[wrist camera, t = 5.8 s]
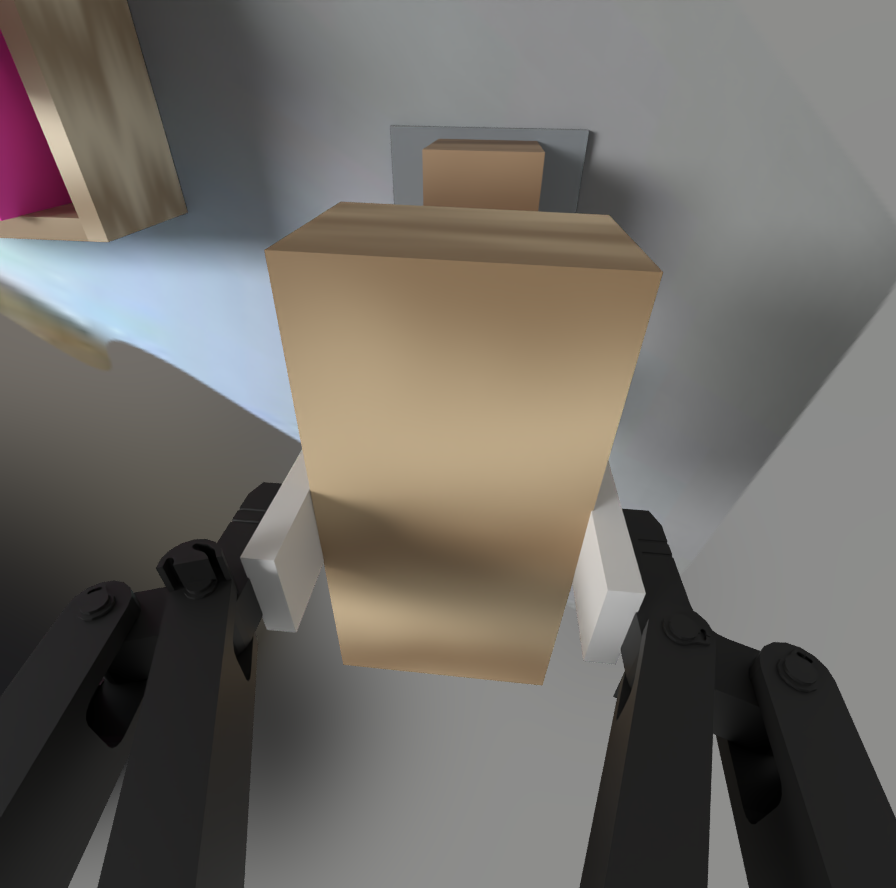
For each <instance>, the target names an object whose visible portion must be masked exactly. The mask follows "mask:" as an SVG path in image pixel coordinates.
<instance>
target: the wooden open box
mask: <svg viewBox="0 0 896 888" xmlns="http://www.w3.org/2000/svg"><path fill="white" fill-rule="evenodd" d="M0 29H1V32H2V34H3V37H4V39H5V41H6V44H7V46H8V49H9V51H10V53H11V56H12V58H13V61H14V63H15V65H16V68H17V70H18V73H19V75H20V77H21V80H22V82H23V85H24V87H25V89H26V92H27V94H28V97H29V99H30V102H31V104H32V106H33V109H34V111H35V114H36V116H37V118H38V121H39V123H40V126H41V128H42V130H43V133H44V135H45V138H46V140H47V142H48V145H49V147H50V150H51V152H52V154H53V157H54V159H55V162H56V164H57V166H58V169H59V171H60V174H61V176H62V178H63V181H64V183H65V186H66V188H67V190H68V193H69V195H70V198H71V200H72V203H69V204H65V205H61V206H57V207H53V208H49V209H45V210H41V211H37V212H33V213H29V214H25V215H21V216H18V217H15V218H11V219H7V220H3V221H0V238H18V239H43V240H68V241H93V242H110V241H113V240H116V239H118V238H121V237H124V236H126V235H129V234H132V233H135V232H137V231H140V230H143V229H145V228H148V227H151V226H153V225H156V224H159V223H161V222H164V221H167V220H170V219H172V218H175V217H178V216H180V215H183V214H186V213H188V211H187V208H186V204H185V201H184V197H183V194H182V190H181V187H180V183H179V180H178V176H177V173H176V170H175V166H174V163H173V159H172V156H171V152H170V149H169V145H168V142H167V138H166V135H165V131H164V128H163V124H162V121H161V117H160V114H159V110H158V107H157V104H156V100H155V97H154V93H153V90H152V86H151V83H150V79H149V76H148V72H147V69H146V65H145V62H144V58H143V55H142V51H141V48H140V44H139V41H138V37H137V34H136V31H135V27H134V24H133V20H132V17H131V13H130V10H129V6H128V3H127V0H0Z"/></svg>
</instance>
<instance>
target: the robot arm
mask: <svg viewBox="0 0 896 888" xmlns="http://www.w3.org/2000/svg"><path fill="white" fill-rule="evenodd" d="M323 563H324V559H323V554H322V549H321V545H320V539H319V534H318V529H317V524H316V518H315V513H314V508H313V503H312V497H311V492H310V487H309V482H308V476H307V471H306V466H305V461H304V455H303V450H302V451H301V452H300V454H299V456H298V458H297V459H296V461H295V463H294V465H293V466H292V468H291V470H290V471H289V473H288V475H287V477H286V479H285V480H284V482H283V484H279V483H265V482H264V483H262V484H261V485H259V486H258V487H257V488H256V489H254V490H253V491H252V492H250V493H249V494H248V496H247V497H246V499H245V500H244V502H243V503H242V505H241V507H240V510H239V511H237V513H236V514H235V516H234V517H233V520H232V522H230V524H229V525H228V527H227V528H226V530H225V531H224V533H223V534H222V536H221V538H220V539H219V541H218V542H217V543H216V542H214V541H210V540H207V539H197V540H191V541H188V542H185V543H182V544H180V545H178V546H176V547H174V548H173V549H171V550H170V551H169V552H167V553H166V554H165V555H164V556H163V557H162V558H161V560H160V561H159V563H158V565H157V567H156V569H157V571H158V573H159V575H160V576H161V578H162V580H163V582H164V584H165V586H166V587H164V588H158V589H152V590H147V591H142V592H136V593H133V591H132V590H131V588H130V587H129V586H128V585H126V584H125V583H124V582H119V581H108V582H102V583H99V584H96V585H94V586H91V587H89V588H87V589H86V590H84V591H83V592H81V593H80V594H78V595H77V596H75V597H74V598H73V599H72V600H71V602H70V603H69V604H68V605H67V606H66V607H65V609H64V610H63V611H62V613H61V614H60V615H59V617H58V618H57V620H56V621H55V622H54V624H53V625H52V626H51V628H50V629H49V630H48V632H47V633H46V635H45V636H44V637H43V639H42V640H41V642H40V643H39V644H38V646H37V647H36V649H35V650H34V651H33V653H32V654H31V655H30V657H29V658H28V660H27V661H26V662H25V664H24V665H23V666H22V668H21V669H20V671H19V672H18V673H17V675H16V676H15V678H14V679H13V680H12V682H11V683H10V684H9V686H8V687H7V689H6V690H5V692H4V693H3V694H2V696H1V697H0V888H68V886H69V884H70V881H71V879H72V877H73V875H74V873H75V871H76V869H77V866H78V864H79V862H80V860H81V858H82V855H83V853H84V851H85V849H86V847H87V845H88V843H89V840H90V838H91V836H92V834H93V832H94V830H95V828H96V825H97V823H98V821H99V819H100V817H101V814H102V812H103V810H104V808H105V806H106V804H107V802H108V799H109V797H110V795H111V793H112V791H113V788H114V787H115V784H116V782H117V780H118V778H119V776H120V773H121V771H122V769H123V767H124V765H125V763H126V761H127V758H128V756H129V760H128V764H127V768H126V772H125V776H124V780H123V784H122V788H121V792H120V797H119V801H118V805H117V809H116V813H115V817H114V822H113V826H112V830H111V834H110V838H109V842H108V847H107V851H106V855H105V859H104V863H103V867H102V871H101V875H100V879H99V884H98V888H244V877H245V859H246V843H247V825H248V808H249V807H248V806H249V791H250V773H251V756H252V739H253V722H254V704H255V687H256V670H257V669H256V668H257V652H258V641H257V636H256V633H255V631H256V629H257V627H258V625H259V622H260V620H261V618H263V620H264V623H265V626H266V628H267V630H277V631H286V632H297V630H298V627H299V624H300V622H301V619H302V616H303V614H304V611H305V609H306V606H307V604H308V601H309V599H310V596H311V594H312V591H313V588H314V586H315V583H316V581H317V578H318V576H319V573H320V570H321V568H322V565H323ZM573 589H574V596H575V604H576V611H577V618H578V625H579V633H580V640H581V647H582V655H583V661H589V662H598V663H608V664H616V662H617V660H618V658H619V655H620V653H621V654H622V659H623V663H624V668H625V672H624V674H623V676H622V679H621V681H620V683H619V685H618V687H617V689H616V692H615V694H614V697H615V698H617V702H616V706H615V711H614V716H613V721H612V726H611V732H610V736H609V742H608V747H607V752H606V757H605V762H604V767H603V772H602V777H601V782H600V787H599V793H598V797H597V802H596V807H595V812H594V817H593V823H592V828H591V833H590V837H589V842H588V847H587V853H586V858H585V863H584V868H583V873H582V878H581V883H580V888H707V885H708V857H709V856H708V855H709V829H710V801H711V773H712V745H713V734H715V735H716V738H717V742H718V747H719V751H720V756H721V760H722V765H723V770H724V774H725V779H726V784H727V788H728V793H729V798H730V802H731V807H732V811H733V815H734V821H735V825H736V830H737V834H738V839H739V844H740V848H741V853H742V858H743V862H744V867H745V871H746V875H747V881H748V885H749V888H896V818H895V816H894V813H893V811H892V809H891V807H890V804H889V802H888V800H887V797H886V795H885V793H884V791H883V788H882V786H881V784H880V782H879V779H878V777H877V775H876V772H875V770H874V768H873V766H872V764H871V761H870V759H869V757H868V754H867V752H866V750H865V748H864V745H863V743H862V741H861V738H860V736H859V734H858V732H857V729H856V727H855V725H854V723H853V720H852V718H851V716H850V714H849V711H848V709H847V707H846V704H845V702H844V700H843V698H842V696H841V693H840V691H839V689H838V687H837V684H836V682H835V680H834V678H833V677H832V675H831V674H830V672H829V671H828V669H827V668H826V667H825V666H824V665H823V664H822V663H821V662H820V661H819V660H818V659H817V658H816V657H815V656H813V655H812V654H810V653H808V652H807V651H805V650H803V649H802V648H800V647H797V646H794V645H791V644H788V643H779V642H773V643H771V644H769V645H766V646H764V647H763V648H762V650H761V651H759V650H756V649H753V648H750V647H748V646H745V645H742V644H739V643H737V642H734V641H732V640H729V639H727V638H725V637H722V636H720V635H718V634H717V633H715V632H714V631H712V629H711V628H710V626H709V624H708V623H707V622H706V621H705V620H704V619H703V618H702V617H701V616H700V615H698V614H697V613H696V612H694V611H693V609H692V607H691V605H690V603H689V600H688V597H687V594H686V592H685V589H684V586H683V583H682V581H681V578H680V575H679V572H678V569H677V567H676V564H675V561H674V558H672V553H671V550H670V547H669V545H668V544H667V539H666V536H665V534H664V531H663V528H662V525H661V524H660V523H659V522H658V521H657V520H656V519H655V518H654V516H653V515H652V514H651V513H650V512H649V511H645V510H632V509H622V507H621V504H620V500H619V497H618V493H617V490H616V486H615V483H614V479H613V475H612V472H611V468H610V465H609V461H608V462H607V466H606V469H605V473H604V476H603V479H602V483H601V486H600V490H599V493H598V496H597V500H596V503H595V507H594V510H593V511H591V514H590V518H589V522H588V525H587V529H586V533H585V537H584V540H583V544H582V548H581V552H580V555H579V559H578V563H577V567H576V570H575V574H574V578H573ZM129 754H130V755H129Z"/></svg>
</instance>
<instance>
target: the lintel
mask: <svg viewBox="0 0 896 888" xmlns="http://www.w3.org/2000/svg"><path fill="white" fill-rule="evenodd" d="M264 251H265V256H266V262H267V267H268V272H269V277H270V283H271V288H272V293H273V298H274V304H275V309H276V314H277V319H278V324H279V330H280V335H281V340H282V345H283V351H284V356H285V361H286V366H287V372H288V377H289V382H290V387H291V393H292V398H293V403H294V408H295V414H296V419H297V424H298V429H299V434H300V440H301V445H302V450H303V455H304V461H305V466H306V471H307V476H308V482H309V487H310V492H311V497H312V503H313V508H314V513H315V518H316V524H317V529H318V534H319V539H320V545H321V549H322V554H323V559H324V565H325V571H326V576H327V580H328V586H329V591H330V597H331V602H332V607H333V612H334V618H335V623H336V628H337V634H338V638H339V643H340V649H341V654H342V660H343V664H344V665H352V666H362V667H371V668H381V669H391V670H400V671H409V672H419V673H428V674H438V675H448V676H458V677H467V678H477V679H487V680H495V681H496V680H497V681H505V682H515V683H525V684H534V685H543V681H544V678H545V674H546V671H547V668H548V664H549V661H550V657H551V654H552V651H553V647H554V643H555V640H556V637H557V633H558V630H559V627H560V623H561V620H562V616H563V613H564V609H565V606H566V603H567V599H568V596H569V592H570V589H571V585H572V582H573V578H574V574H575V570H576V567H577V563H578V559H579V555H580V552H581V548H582V544H583V540H584V537H585V533H586V529H587V525H588V522H589V518H590V514H591V511H593V510H594V507H595V503H596V500H597V496H598V493H599V490H600V486H601V483H602V479H603V476H604V473H605V469H606V466H607V462H608V459H609V455H610V452H611V449H612V445H613V442H614V438H615V435H616V431H617V428H618V425H619V421H620V418H621V414H622V411H623V407H624V404H625V401H626V397H627V394H628V390H629V387H630V384H631V380H632V377H633V373H634V370H635V366H636V363H637V360H638V356H639V353H640V349H641V346H642V342H643V339H644V336H645V332H646V329H647V325H648V322H649V318H650V315H651V312H652V308H653V305H654V301H655V298H656V295H657V291H658V288H659V284H660V281H661V277H662V274H663V272H662V271H661V270H660V268H659V267H658V266H657V265H656V264H655V263H654V262H653V261H652V260H651V259H650V258H649V257H648V256H647V255H646V254H645V253H644V252H643V250H642V249H641V248H640V247H639V246H638V245H637V244H636V243H635V242H634V241H633V240H632V239H631V238H630V237H629V236H628V235H627V234H626V233H625V231H624V230H623V229H622V228H621V227H620V226H619V225H618V224H617V223H616V222H615V221H614V220H613V219H612V218H611V217H610V216H609V215H598V214H578V213H557V212H537V211H517V210H496V209H476V208H456V207H436V206H415V205H395V204H375V203H355V202H339V203H338V204H336V205H335V206H333V207H332V208H330V209H328V210H327V211H325V212H324V213H322V214H320V215H319V216H317V217H316V218H314V219H313V220H311V221H309V222H308V223H306V224H305V225H303V226H302V227H300V228H298V229H297V230H295V231H294V232H292V233H290V234H289V235H287V236H286V237H284V238H283V239H281V240H279V241H278V242H276V243H275V244H273V245H271V246H270V247H268V248H267V249H265V250H264Z"/></svg>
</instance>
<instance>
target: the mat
mask: <svg viewBox="0 0 896 888" xmlns="http://www.w3.org/2000/svg"><path fill="white" fill-rule="evenodd" d="M390 134H391V154H392V174H393V194H394V204H395V205H415V206H423V158H422V149H424V148H425V147H427V146H428V145H430V144H431V143H433V142H434V141H436V140H438V139H474V140H518V141H537V142H538V143H539V145H540V146H541V147H542V149H543V150H544V152H545V157H544V166H543V174H542V183H541V192H540V200H539V209H538V212H557V213H576V209H577V203H578V197H579V190H580V184H581V178H582V172H583V165H584V159H585V153H586V146H587V140H588V134H589V130H581V129H533V128H485V127H437V126H390Z"/></svg>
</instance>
